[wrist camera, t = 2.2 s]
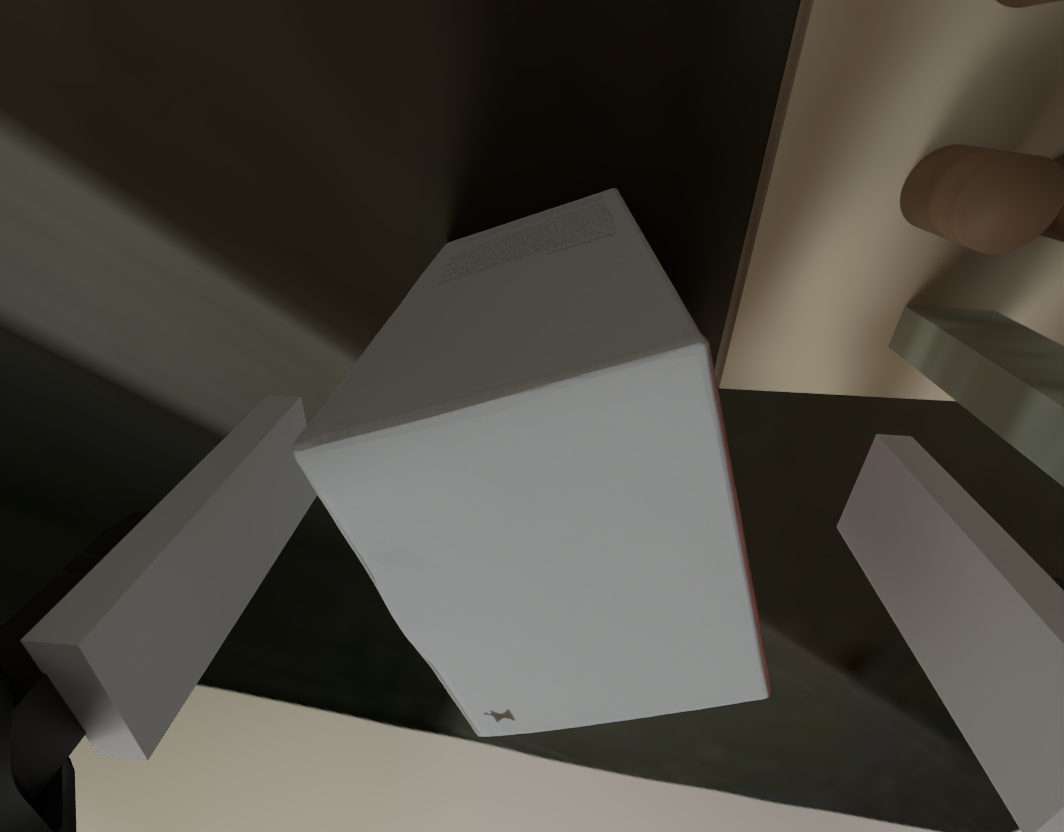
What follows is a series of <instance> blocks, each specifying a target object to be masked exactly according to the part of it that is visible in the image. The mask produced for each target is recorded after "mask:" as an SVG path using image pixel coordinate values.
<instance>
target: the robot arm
mask: <svg viewBox="0 0 1064 832" xmlns="http://www.w3.org/2000/svg"><path fill="white" fill-rule="evenodd" d="M306 427H307V424H306V419H305V415H304V410H303V405H302V400H301V397H295V396H280V395H268V396H267V397H266V398H265V399H264V400H263V401H262V402H261V403H260V404H259V405H258V406H257V407H256V408H255V409H254V410H253V411H252V412H251V413H250V414H249V415H248V416H247V417H246V418H245V419H244V420H243V421H242V422H241V423H240V424H239V425H238V426H237V427H236V428H235V429H234V430H232V431H231V432H230V433H229V434H228V435H227V436H226V437H225V438H224V439H223V440H222V441H221V442H220V443H219V444H218V445H217V446H216V447H215V448H214V449H213V450H212V451H211V452H210V453H209V454H208V455H207V456H206V457H205V458H204V459H203V460H202V461H201V462H200V463H199V464H198V465H197V466H196V467H195V468H194V469H193V470H192V471H191V472H190V473H189V474H188V475H187V476H186V477H185V478H184V479H183V480H182V481H181V482H180V483H179V484H178V485H177V486H176V487H175V488H174V489H173V490H172V491H171V492H170V493H169V494H168V495H167V496H166V497H165V498H164V499H163V500H162V501H161V502H160V503H159V504H158V505H157V506H156V507H155V508H154V509H153V510H152V511H151V512H150V513H145V512H135V513H133V514H131V515H130V516H128V517H126V518H124V519H123V520H121V521H119V522H118V523H116V524H114V525H113V526H111V527H109V528H107V529H106V530H104V531H103V532H102V533H101V534H100V535H99V536H98V537H97V538H96V539H95V540H94V541H93V542H91V543H90V544H89V545H88V546H87V547H86V548H85V549H84V550H83V551H82V552H81V556H80V557H77V556H76V557H75V558H74V559H73V560H72V561H71V562H70V563H69V564H68V565H67V566H66V567H65V568H64V569H62V570H61V571H62V573H61V575H56V576H55V577H54V578H53V579H52V580H51V581H50V582H49V583H47V584H46V585H45V586H44V587H43V588H42V589H41V590H40V591H39V592H38V593H37V594H36V595H35V596H33V597H32V598H31V599H30V600H29V601H28V602H27V603H26V604H25V605H24V606H23V607H22V608H21V609H20V610H18V611H17V612H16V613H15V614H14V615H13V616H12V617H11V618H10V619H9V620H8V621H7V622H6V623H5V624H3V625H2V626H1V627H0V832H76V808H75V807H76V803H75V770H74V768H73V765H72V762H71V759H70V758H69V755H70V754H71V753H72V751H73V750H74V749H75V747H76V746H77V745H78V743H79V742H80V741H81V739H82V738H83V737H84V735H86V737H87V738H88V740H89V741H90V743H91V744H92V746H93V747H94V749H95V750H96V752H97V753H98V754H99V756H105V757H116V758H127V759H138V760H148V759H149V758H150V756H151V754H152V753H153V751H154V750H155V748H156V747H157V745H158V744H159V742H160V740H161V739H162V737H163V736H164V734H165V733H166V731H167V730H168V728H169V726H170V725H171V723H172V722H173V720H174V718H175V717H176V715H177V714H178V712H179V711H180V709H181V708H182V706H183V704H184V703H185V701H186V700H187V698H188V696H189V695H190V693H191V692H192V690H193V689H194V687H195V686H196V684H197V682H198V681H199V679H200V678H201V676H202V675H203V673H204V672H205V670H206V668H207V667H208V665H209V664H210V662H211V661H212V659H213V657H214V656H215V654H216V653H217V651H218V650H219V648H220V646H221V645H222V643H223V642H224V640H225V639H226V637H227V635H228V634H229V632H230V631H231V629H232V628H233V626H234V624H235V623H236V621H237V620H238V618H239V617H240V615H241V614H242V612H243V610H244V609H245V607H246V606H247V604H248V603H249V601H250V599H251V598H252V596H253V595H254V593H255V592H256V590H257V588H258V587H259V585H260V584H261V582H262V581H263V579H264V577H265V576H266V574H267V573H268V571H269V570H270V568H271V566H272V565H273V563H274V562H275V560H276V559H277V557H278V555H279V554H280V552H281V551H282V549H283V548H284V546H285V545H286V543H287V541H288V540H289V538H290V537H291V535H292V534H293V532H294V530H295V529H296V527H297V526H298V524H299V523H300V521H301V519H302V518H303V516H304V515H305V513H306V512H307V510H308V508H309V507H310V505H311V504H312V502H313V501H314V499H315V497H316V496H317V493H316V492H315V490H314V489H313V487H312V485H311V484H310V482H309V480H308V478H307V477H306V475H305V473H304V472H303V470H302V469H301V467H300V466H299V465H298V463H297V462H296V459H295V456H294V453H293V442H294V441H295V440H296V439H297V438H298V436H299V435H300V434H301V433H302V431H303V430H304V429H305V428H306ZM837 529H838V530H839V532H840V533H841V535H842V537H843V538H844V540H845V542H846V543H847V545H848V547H849V548H850V550H851V552H852V553H853V555H854V556H855V558H856V560H857V561H858V563H859V565H860V566H861V568H862V570H863V571H864V573H865V575H866V576H867V578H868V579H869V581H870V583H871V584H872V586H873V588H874V589H875V591H876V593H877V594H878V596H879V598H880V599H881V601H882V603H883V604H884V606H885V607H886V609H887V611H888V612H889V614H890V616H891V617H892V619H893V621H894V622H895V624H896V626H897V627H898V629H899V630H900V632H901V634H902V635H903V637H904V639H905V640H906V642H907V644H908V645H909V647H910V649H911V650H912V652H913V653H914V655H915V657H916V658H917V660H918V662H919V663H920V665H921V667H922V668H923V670H924V672H925V673H926V675H927V677H928V678H929V680H930V681H931V683H932V685H933V686H934V688H935V690H936V691H937V693H938V695H939V696H940V698H941V700H942V701H943V703H944V704H945V706H946V708H947V709H948V711H949V713H950V714H951V716H952V718H953V719H954V721H955V723H956V724H957V726H958V727H959V729H960V731H961V732H962V734H963V736H964V737H965V739H966V741H967V742H968V744H969V746H970V747H971V749H972V750H973V752H974V754H975V755H976V757H977V759H978V760H979V762H980V764H981V765H982V767H983V769H984V770H985V772H986V774H987V775H988V777H989V778H990V780H991V782H992V783H993V785H994V787H995V788H996V790H997V792H998V793H999V795H1000V797H1001V798H1002V800H1003V801H1004V803H1005V805H1006V806H1007V808H1008V810H1009V811H1010V813H1011V815H1012V816H1013V818H1014V820H1015V821H1016V823H1017V824H1018V826H1019V828H1020V829H1021V831H1022V832H1064V581H1063V580H1062V579H1060V578H1051V577H1050V576H1049V575H1048V574H1047V573H1046V572H1045V571H1044V570H1043V569H1042V568H1041V567H1040V566H1039V565H1038V564H1037V563H1036V562H1035V561H1034V560H1033V559H1032V558H1031V557H1030V556H1029V555H1028V554H1027V553H1026V552H1025V551H1024V550H1023V549H1022V548H1021V547H1020V546H1019V545H1018V544H1017V543H1016V542H1015V541H1014V540H1013V539H1012V538H1011V537H1010V536H1009V535H1008V534H1007V533H1006V532H1005V531H1004V530H1003V529H1002V528H1001V527H1000V526H999V525H998V524H997V523H996V522H995V521H994V520H993V519H992V517H991V516H990V515H989V514H988V513H987V512H986V511H985V510H984V509H983V508H982V507H981V506H980V505H979V504H978V503H977V502H976V501H975V500H974V499H973V498H972V497H971V496H970V495H969V494H968V493H967V492H966V491H965V490H964V489H963V488H962V487H961V486H960V485H959V484H958V483H957V482H956V481H955V480H954V479H953V478H952V477H951V476H950V475H949V474H948V473H947V472H946V471H945V470H944V469H943V468H942V467H941V466H940V465H939V464H938V463H937V462H936V461H935V460H934V459H933V458H932V457H931V456H930V455H929V454H928V453H927V452H926V451H925V450H924V449H923V448H922V447H921V446H920V445H919V444H918V443H917V442H916V441H915V440H914V438H913V437H912V436H897V435H881V434H876V436H875V439H874V441H873V443H872V446H871V448H870V450H869V453H868V455H867V457H866V460H865V462H864V464H863V467H862V469H861V471H860V474H859V476H858V478H857V481H856V483H855V485H854V488H853V490H852V492H851V495H850V497H849V499H848V502H847V504H846V506H845V509H844V511H843V513H842V516H841V518H840V520H839V523H838V525H837Z"/></svg>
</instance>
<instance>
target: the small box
mask: <svg viewBox="0 0 1064 832" xmlns="http://www.w3.org/2000/svg"><path fill="white" fill-rule="evenodd" d="M293 453H294V456H295V459H296V462H297V463H298V465H299V466H300V467H301V469H302V470H303V472H304V473H305V475H306V477H307V478H308V480H309V482H310V484H311V485H312V487H313V489H314V490H315V492H316V493H317V495H318V496H319V498H320V499H321V501H322V502H323V504H324V505H325V507H326V508H327V510H328V511H329V513H330V515H331V516H332V518H333V520H334V521H335V523H336V524H337V526H338V528H339V529H340V531H341V533H342V534H343V536H344V537H345V539H346V540H347V542H348V543H349V545H350V546H351V548H352V549H353V551H354V552H355V554H356V555H357V557H358V558H359V560H360V561H361V563H362V564H363V566H364V568H365V569H366V571H367V573H368V574H369V576H370V578H371V579H372V581H373V582H374V584H375V586H376V588H377V589H378V591H379V593H380V595H381V597H382V599H383V600H384V602H385V604H386V606H387V608H388V609H389V611H390V613H391V615H392V617H393V618H394V620H395V621H396V623H397V624H398V626H399V627H400V629H401V630H402V632H403V633H404V635H405V636H406V637H407V639H408V640H409V641H410V642H411V643H412V645H413V646H414V647H415V648H416V649H417V651H418V652H419V653H420V654H421V656H422V657H423V658H424V659H425V660H426V661H427V663H428V664H429V665H430V667H431V668H432V669H433V671H434V672H435V674H436V675H437V677H438V678H439V680H440V681H441V683H442V684H443V685H444V687H445V688H446V690H447V691H448V693H449V695H450V696H451V698H452V699H453V700H454V702H455V703H456V704H457V706H458V707H459V709H460V710H461V712H462V713H463V715H464V716H465V718H466V719H467V721H468V722H469V723H470V725H471V727H472V728H473V730H474V732H475V733H476V734H477V735H478V736H482V737H488V736H502V735H514V734H524V733H534V732H542V731H550V730H558V729H566V728H573V727H581V726H588V725H595V724H602V723H609V722H616V721H624V720H631V719H637V718H644V717H652V716H657V715H663V714H670V713H677V712H684V711H692V710H699V709H704V708H710V707H717V706H724V705H730V704H735V703H741V702H746V701H754V700H761V699H765V698H768V697H769V696H770V692H771V689H770V682H769V675H768V669H767V663H766V658H765V652H764V646H763V639H762V633H761V628H760V622H759V616H758V610H757V604H756V599H755V593H754V588H753V582H752V577H751V571H750V565H749V560H748V555H747V549H746V544H745V537H744V531H743V524H742V519H741V514H740V509H739V504H738V498H737V493H736V488H735V483H734V477H733V472H732V466H731V461H730V455H729V450H728V444H727V438H726V431H725V425H724V419H723V413H722V408H721V403H720V397H719V392H718V387H717V382H716V377H715V371H714V366H713V361H712V355H711V350H710V345H709V342H708V341H707V339H706V338H705V337H704V336H703V335H702V333H701V332H700V331H699V329H698V327H697V325H696V324H695V322H694V320H693V318H692V317H691V315H690V314H689V312H688V310H687V309H686V307H685V305H684V304H683V302H682V300H681V298H680V296H679V295H678V293H677V291H676V289H675V288H674V286H673V284H672V283H671V281H670V279H669V277H668V276H667V274H666V273H665V271H664V270H663V268H662V266H661V264H660V262H659V261H658V259H657V257H656V255H655V254H654V252H653V250H652V249H651V247H650V245H649V243H648V242H647V240H646V238H645V237H644V235H643V233H642V231H641V230H640V228H639V226H638V225H637V223H636V221H635V219H634V217H633V216H632V214H631V212H630V211H629V209H628V207H627V205H626V204H625V202H624V200H623V198H622V197H621V195H620V193H619V191H618V189H616V188H612V189H609V190H606V191H603V192H600V193H597V194H594V195H591V196H588V197H585V198H582V199H579V200H576V201H573V202H570V203H567V204H564V205H561V206H558V207H555V208H552V209H549V210H546V211H543V212H540V213H536V214H533V215H530V216H527V217H524V218H521V219H518V220H515V221H512V222H509V223H506V224H503V225H500V226H497V227H494V228H491V229H488V230H485V231H482V232H479V233H476V234H473V235H470V236H467V237H464V238H461V239H458V240H455V241H452V242H449V243H447V244H446V245H445V246H444V247H443V248H442V250H441V251H440V252H439V254H438V255H437V256H436V257H435V259H434V260H433V261H432V262H431V264H430V265H429V266H428V268H427V269H426V270H425V272H424V273H423V274H422V275H421V277H420V278H419V280H418V281H417V282H416V284H415V285H414V286H413V287H412V289H411V290H410V291H409V293H408V294H407V296H406V297H405V298H404V300H403V301H402V303H401V304H400V305H399V307H398V308H397V309H396V311H395V312H394V313H393V315H392V316H391V317H390V318H389V319H388V321H387V322H386V323H385V325H384V326H383V327H382V329H381V330H380V331H379V332H378V334H377V335H376V336H375V338H374V339H373V340H372V342H371V343H370V344H369V346H368V347H367V348H366V350H365V351H364V352H363V354H362V355H361V356H360V358H359V359H358V360H357V362H356V363H355V365H354V366H353V367H352V369H351V370H350V371H349V373H348V374H347V375H346V377H345V378H344V379H343V381H342V382H341V383H340V384H339V386H338V387H337V388H336V390H335V391H334V392H333V393H332V394H331V396H330V397H329V398H328V400H327V401H326V403H325V404H324V405H323V407H322V408H321V409H320V410H319V412H318V413H317V414H316V415H315V417H314V418H313V419H312V420H311V422H310V423H309V424H308V425H307V427H306V428H305V429H304V430H303V431H302V433H301V434H300V435H299V436H298V438H297V439H296V440H295V441H294V442H293Z"/></svg>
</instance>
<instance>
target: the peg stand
mask: <svg viewBox="0 0 1064 832" xmlns="http://www.w3.org/2000/svg"><path fill="white" fill-rule="evenodd" d="M714 371H715V377H716V382H717V385H718V387H719V388H726V389H744V390H763V391H781V392H799V393H817V394H836V395H854V396H872V397H891V398H909V399H927V400H945V401H957V402H958V403H959V404H961V405H962V406H963V407H964V408H966V409H967V410H968V411H969V412H971V413H972V414H973V415H974V416H976V417H977V418H978V419H979V420H981V421H982V422H983V423H984V424H986V425H987V426H988V427H989V428H991V429H992V430H993V431H994V432H996V433H997V434H998V435H999V436H1001V437H1002V438H1003V439H1004V440H1006V441H1007V442H1008V443H1009V444H1011V445H1012V446H1013V447H1014V448H1016V449H1017V450H1018V451H1020V452H1021V453H1022V454H1023V455H1025V456H1026V457H1027V458H1028V459H1030V460H1031V461H1032V462H1033V463H1035V464H1036V465H1037V466H1038V467H1040V468H1041V469H1042V470H1043V471H1045V472H1046V473H1047V474H1048V475H1050V476H1051V477H1052V478H1053V479H1055V480H1056V481H1057V482H1058V483H1060V484H1061V485H1062V486H1063V487H1064V0H801V2H800V6H799V11H798V15H797V19H796V23H795V28H794V32H793V36H792V40H791V45H790V49H789V53H788V57H787V62H786V66H785V70H784V75H783V79H782V83H781V87H780V92H779V96H778V100H777V104H776V109H775V113H774V117H773V121H772V126H771V130H770V134H769V138H768V143H767V147H766V151H765V156H764V160H763V164H762V168H761V173H760V177H759V181H758V185H757V190H756V194H755V198H754V202H753V207H752V211H751V215H750V220H749V224H748V228H747V232H746V237H745V241H744V245H743V249H742V254H741V258H740V262H739V266H738V271H737V275H736V279H735V284H734V288H733V292H732V296H731V301H730V305H729V309H728V313H727V318H726V322H725V326H724V330H723V335H722V339H721V343H720V348H719V352H718V356H717V360H716V365H715V369H714Z"/></svg>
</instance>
